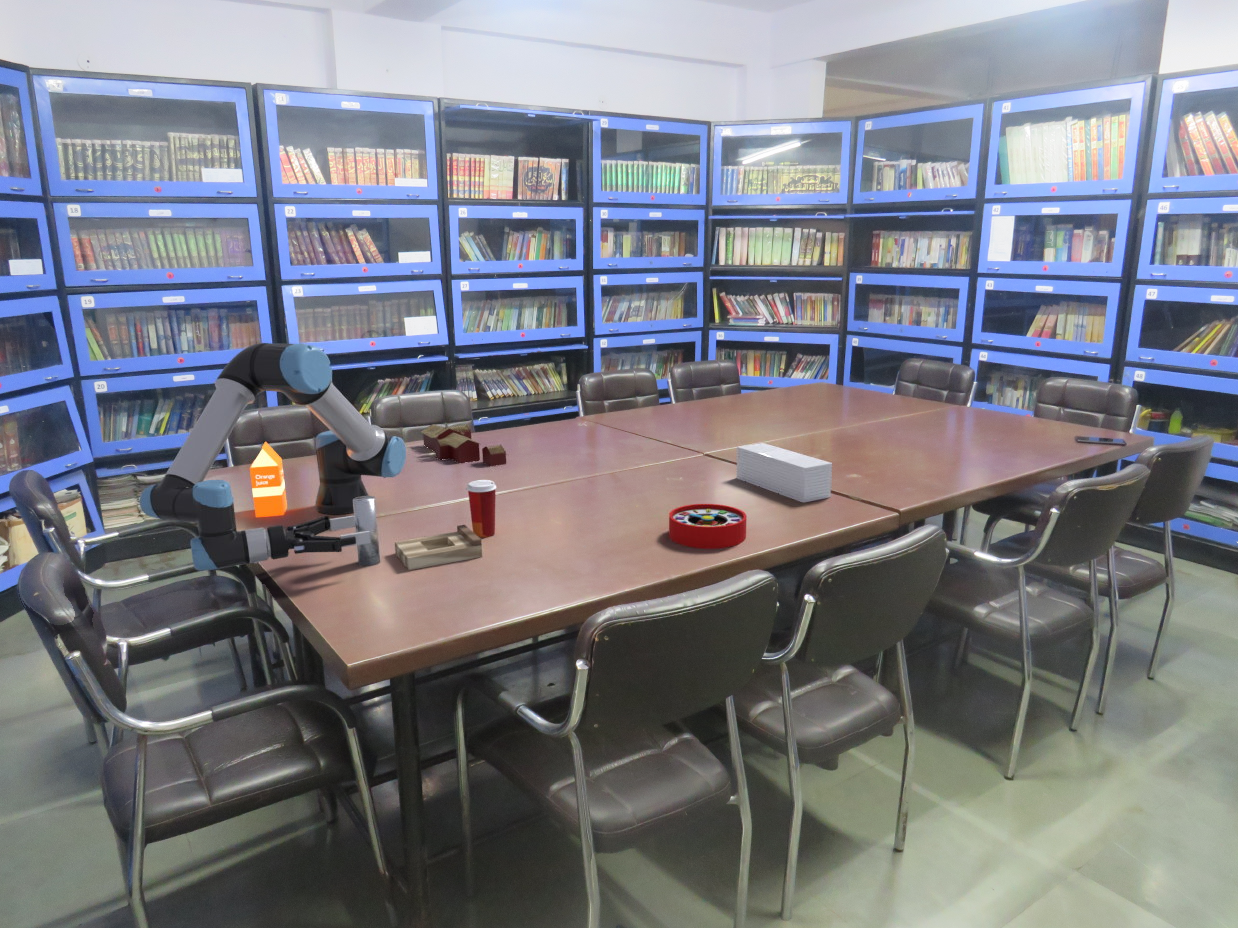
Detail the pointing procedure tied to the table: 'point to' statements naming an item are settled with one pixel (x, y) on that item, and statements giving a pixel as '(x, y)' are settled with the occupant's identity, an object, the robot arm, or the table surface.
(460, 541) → the frame
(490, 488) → the paper cup
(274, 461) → the orange juice
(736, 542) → the toy clock
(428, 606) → the table surface
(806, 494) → the stack of papers
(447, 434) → the toy houses
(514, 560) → the table surface
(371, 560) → the brushed metal cylinder
